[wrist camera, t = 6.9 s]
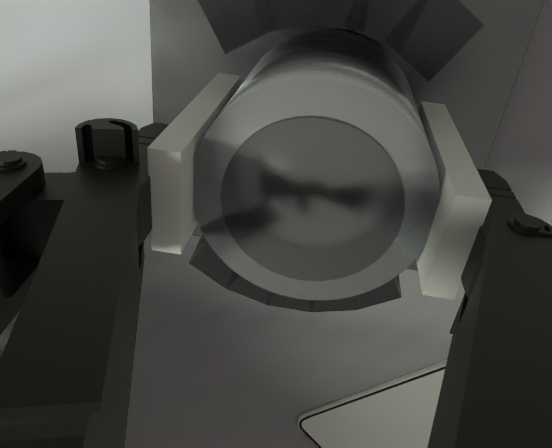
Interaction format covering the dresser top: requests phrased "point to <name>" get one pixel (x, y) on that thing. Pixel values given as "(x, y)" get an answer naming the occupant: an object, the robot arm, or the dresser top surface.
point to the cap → (318, 170)
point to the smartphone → (380, 414)
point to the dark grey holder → (373, 26)
